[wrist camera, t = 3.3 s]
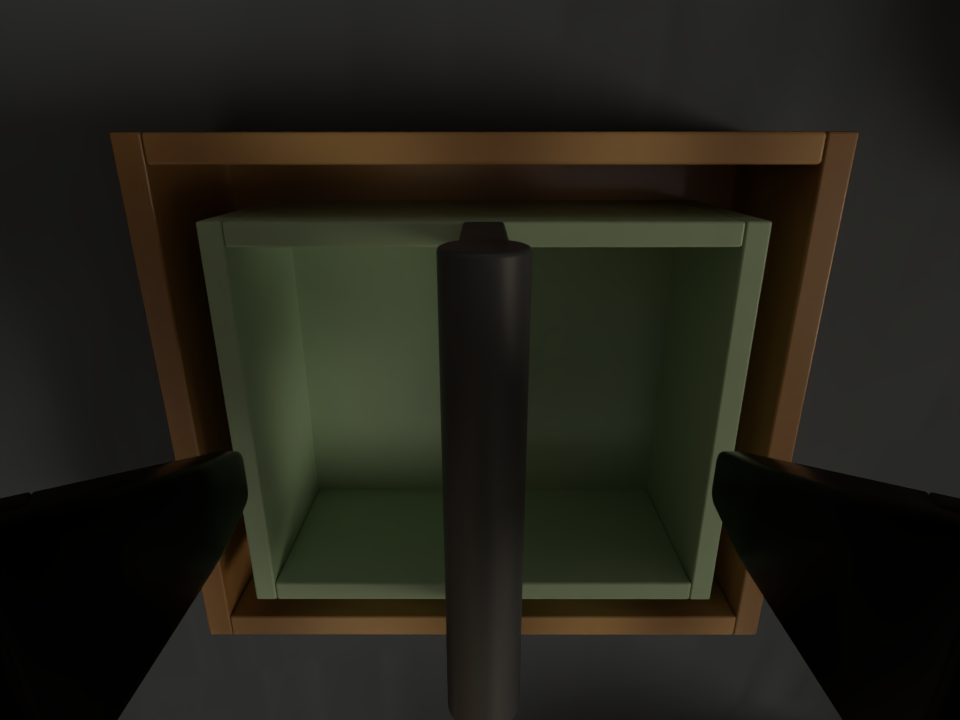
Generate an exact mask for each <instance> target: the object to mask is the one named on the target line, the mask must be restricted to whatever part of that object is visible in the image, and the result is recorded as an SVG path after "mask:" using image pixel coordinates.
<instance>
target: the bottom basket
mask: <svg viewBox="0 0 960 720" xmlns="http://www.w3.org/2000/svg"><path fill="white" fill-rule="evenodd" d="M858 135H859V133H858V132H856V131H826V132H823V131H682V132H111V133H110V134H109V136H110V141H111V145H112V150H113V155H114V160H115V165H116V170H117V175H118V180H119V185H120V190H121V195H122V200H123V205H124V210H125V215H126V219H127V224H128V229H129V234H130V239H131V244H132V249H133V254H134V259H135V264H136V269H137V274H138V279H139V284H140V289H141V294H142V298H143V303H144V308H145V313H146V318H147V323H148V328H149V333H150V338H151V343H152V348H153V353H154V358H155V363H156V368H157V372H158V377H159V382H160V387H161V392H162V397H163V402H164V407H165V412H166V417H167V422H168V427H169V432H170V437H171V442H172V447H173V451H174V456H175V461H177V460H181V459H186V458H190V457H195V456H200V455H204V454H209V453H213V452H218V451H233V448H232V442H231V436H230V430H229V424H228V418H227V412H226V406H225V399H224V393H223V387H222V381H221V375H220V369H219V363H218V357H217V350H216V344H215V338H214V332H213V326H212V320H211V314H210V308H209V302H208V295H207V289H206V283H205V277H204V271H203V265H202V259H201V253H200V246H199V240H198V234H197V228H196V222H198V221H201V220H205V219H208V218H212V217H215V216H219V215H223V214H226V213H230V212H234V211H237V210H241V209H245V208H248V207H252V206H255V205H259V204H263V203H266V202H270V201H273V200H693V201H697V202H701V203H705V204H708V205H712V206H716V207H720V208H723V209H727V210H731V211H734V212H738V213H742V214H746V215H749V216H753V217H757V218H761V219H764V220H768V221H771V222H772V226H771V232H770V238H769V244H768V250H767V256H766V262H765V268H764V274H763V280H762V286H761V292H760V298H759V304H758V310H757V316H756V322H755V328H754V334H753V340H752V346H751V352H750V358H749V364H748V370H747V376H746V382H745V388H744V394H743V400H742V406H741V412H740V418H739V424H738V430H737V437H736V443H735V449H734V451H742V452H747V453H751V454H756V455H761V456H765V457H770V458H774V459H779V460H783V461H788V462H791V461H792V456H793V451H794V446H795V442H796V437H797V432H798V427H799V422H800V417H801V412H802V408H803V403H804V398H805V393H806V388H807V383H808V378H809V373H810V369H811V364H812V359H813V354H814V349H815V344H816V339H817V335H818V330H819V325H820V320H821V315H822V310H823V305H824V301H825V296H826V291H827V286H828V281H829V276H830V271H831V266H832V262H833V257H834V252H835V247H836V242H837V237H838V232H839V228H840V223H841V218H842V213H843V208H844V203H845V198H846V194H847V189H848V184H849V179H850V174H851V169H852V164H853V159H854V155H855V150H856V145H857V140H858ZM201 590H202V595H203V600H204V604H205V609H206V614H207V619H208V624H209V629H210V633H211V634H232V633H234V634H446V603H445V599H279V598H278V597H277V598H276V599H258V598H257V595H256V589H255V583H254V577H253V571H252V565H251V559H250V552H249V546H248V540H247V534H246V528H245V522H244V516H243V512H242V514H241V517H240V519H239V521H238V523H237V525H236V527H235V529H234V531H233V533H232V536H231V538H230V540H229V542H228V544H227V546H226V548H225V550H224V552H223V554H222V556H221V558H220V560H219V561H218V563H217V565H216V566H215V568H214V570H213V571H212V573H211V575H210V576H209V578H208V579H207V581H206V582H205V584H204V585H203V587H202V589H201ZM763 597H764V596H763V595H762V593H761V592H760V590H759V589H758V587H757V585H756V584H755V582H754V581H753V579H752V578H751V576H750V575H749V573H748V571H747V570H746V568H745V566H744V565H743V563H742V561H741V560H740V558H739V556H738V554H737V552H736V550H735V548H734V546H733V544H732V542H731V540H730V538H729V536H728V533H727V531H726V529H725V527H724V525H723V523H722V527H721V533H720V539H719V545H718V551H717V557H716V563H715V569H714V575H713V581H712V587H711V593H710V598H709V599H690V598H688V599H522V620H521V634H735V635H754V634H756V631H757V626H758V622H759V617H760V612H761V607H762V602H763Z"/></svg>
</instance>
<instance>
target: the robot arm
mask: <svg viewBox="0 0 960 720" xmlns="http://www.w3.org/2000/svg"><path fill="white" fill-rule="evenodd" d="M247 500H248V485H247V479H246V473H245V466H244V460H243V457H242V455H241V453H239V452H238V451H218V452H213V453H209V454H204V455H200V456H195V457H190V458H186V459H181V460H177V461H172V462H168V463H163V464H159V465H154V466H150V467H145V468H140V469H136V470H131V471H127V472H122V473H118V474H113V475H109V476H104V477H100V478H95V479H90V480H86V481H81V482H77V483H72V484H68V485H63V486H59V487H54V488H50V489H45V490H40V491H36V492H33V493H32V495H31V494H30V493H23V494H19V495H14V496H9V497H5V498H0V720H118V718H119V717H120V715H121V713H122V712H123V710H124V709H125V707H126V706H127V704H128V703H129V701H130V699H131V698H132V696H133V695H134V693H135V692H136V690H137V688H138V687H139V685H140V684H141V682H142V681H143V679H144V678H145V676H146V674H147V673H148V671H149V670H150V668H151V667H152V665H153V663H154V662H155V660H156V659H157V657H158V656H159V654H160V653H161V651H162V649H163V648H164V646H165V645H166V643H167V642H168V640H169V639H170V637H171V635H172V634H173V632H174V631H175V629H176V628H177V626H178V624H179V623H180V621H181V620H182V618H183V617H184V615H185V614H186V612H187V610H188V609H189V607H190V606H191V604H192V603H193V601H194V599H195V598H196V596H197V595H198V593H199V592H200V590H201V589H202V587H203V585H204V584H205V582H206V581H207V579H208V578H209V576H210V575H211V573H212V571H213V570H214V568H215V566H216V565H217V563H218V561H219V560H220V558H221V556H222V554H223V552H224V550H225V548H226V546H227V544H228V542H229V540H230V538H231V536H232V533H233V531H234V529H235V527H236V525H237V523H238V521H239V519H240V517H241V514H242V512H243V510H244V508H245V506H246V503H247ZM712 500H713V503H714V506H715V508H716V510H717V512H718V514H719V517H720V519H721V521H722V523H723V525H724V527H725V529H726V531H727V533H728V536H729V538H730V540H731V542H732V544H733V546H734V548H735V550H736V552H737V554H738V556H739V558H740V560H741V561H742V563H743V565H744V566H745V568H746V570H747V571H748V573H749V575H750V576H751V578H752V579H753V581H754V582H755V584H756V585H757V587H758V589H759V590H760V592H761V593H762V595H763V596H764V598H765V599H766V601H767V603H768V604H769V606H770V607H771V609H772V610H773V612H774V613H775V615H776V617H777V618H778V620H779V621H780V623H781V624H782V626H783V628H784V629H785V631H786V632H787V634H788V635H789V637H790V638H791V640H792V642H793V643H794V645H795V646H796V648H797V649H798V651H799V652H800V654H801V656H802V657H803V659H804V660H805V662H806V663H807V665H808V667H809V668H810V670H811V671H812V673H813V674H814V676H815V677H816V679H817V681H818V682H819V684H820V685H821V687H822V688H823V690H824V692H825V693H826V695H827V696H828V698H829V699H830V701H831V702H832V704H833V706H834V707H835V709H836V710H837V712H838V713H839V715H840V717H841V718H842V720H960V498H955V497H951V496H946V495H941V494H937V493H930V494H929V495H928V493H927V492H924V491H920V490H915V489H911V488H906V487H902V486H897V485H892V484H888V483H883V482H879V481H874V480H870V479H865V478H861V477H856V476H852V475H847V474H842V473H838V472H833V471H829V470H824V469H820V468H815V467H811V466H806V465H801V464H797V463H792V462H788V461H783V460H779V459H774V458H770V457H765V456H761V455H756V454H751V453H747V452H742V451H722V452H721V453H719V455H718V457H717V460H716V466H715V473H714V479H713V485H712Z"/></svg>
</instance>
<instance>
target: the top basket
mask: <svg viewBox="0 0 960 720" xmlns="http://www.w3.org/2000/svg"><path fill="white" fill-rule="evenodd" d="M771 226H772V222H771V221H768V220H764V219H761V218H757V217H753V216H749V215H746V214H742V213H738V212H734V211H731V210H727V209H723V208H720V207H716V206H712V205H708V204H705V203H701V202H697V201H693V200H273V201H270V202H266V203H263V204H259V205H255V206H252V207H248V208H245V209H241V210H237V211H234V212H230V213H226V214H223V215H219V216H215V217H212V218H208V219H205V220H201V221H198V222H196V228H197V234H198V240H199V246H200V253H201V259H202V265H203V271H204V277H205V283H206V289H207V295H208V302H209V308H210V314H211V320H212V326H213V332H214V338H215V344H216V350H217V357H218V363H219V369H220V375H221V381H222V387H223V393H224V399H225V406H226V412H227V418H228V424H229V430H230V436H231V442H232V448H233V451H238V452H239V453H241V455H242V457H243V460H244V466H245V473H246V479H247V485H248V500H247V503H246V506H245V508H244V510H243V516H244V522H245V528H246V534H247V540H248V546H249V552H250V559H251V565H252V571H253V577H254V583H255V589H256V595H257V598H258V599H276V598H277V597H278V598H279V599H445V603H446V641H447V680H448V706H449V710H450V713H451V715H452V717H453V718H454V720H513V719H514V717H515V715H516V713H517V711H518V707H519V687H520V653H521V620H522V599H688V598H690V599H709V598H710V593H711V587H712V581H713V575H714V569H715V563H716V557H717V551H718V545H719V539H720V533H721V527H722V521H721V519H720V517H719V514H718V512H717V510H716V508H715V506H714V503H713V500H712V485H713V479H714V473H715V466H716V460H717V457H718V455H719V453H721V452H722V451H734V449H735V443H736V437H737V430H738V424H739V418H740V412H741V406H742V400H743V394H744V388H745V382H746V376H747V370H748V364H749V358H750V352H751V346H752V340H753V334H754V328H755V322H756V316H757V310H758V304H759V298H760V292H761V286H762V280H763V274H764V268H765V262H766V256H767V250H768V244H769V238H770V232H771Z"/></svg>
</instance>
